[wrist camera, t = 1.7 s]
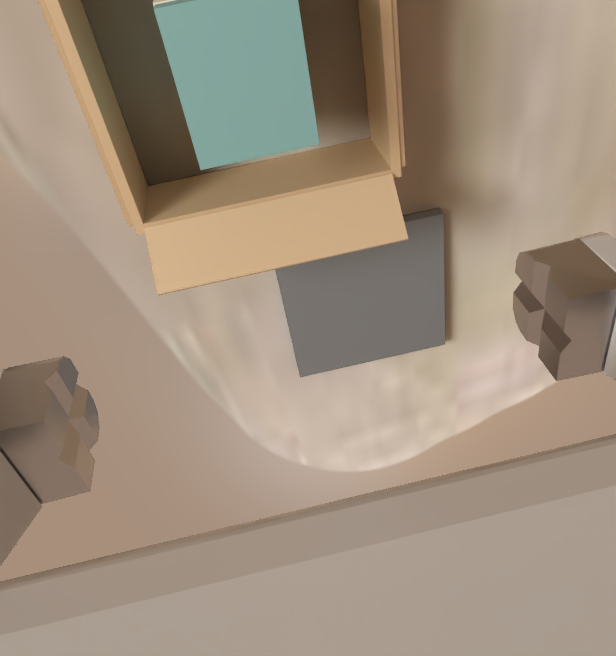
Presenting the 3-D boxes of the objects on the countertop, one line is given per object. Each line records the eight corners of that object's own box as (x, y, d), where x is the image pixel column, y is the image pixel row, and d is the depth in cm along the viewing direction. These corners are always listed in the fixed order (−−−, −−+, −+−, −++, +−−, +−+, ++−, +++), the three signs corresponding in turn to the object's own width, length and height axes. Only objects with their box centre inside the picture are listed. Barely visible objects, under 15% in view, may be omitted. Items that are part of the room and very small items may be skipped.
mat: (439, 207, 37) (443, 213, 37) (441, 337, 44) (445, 344, 44) (270, 245, 37) (271, 251, 37) (298, 370, 44) (300, 377, 44)
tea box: (268, -53, 27) (296, -23, 20) (291, 81, 31) (320, 145, 24) (160, -31, 27) (151, 7, 20) (196, 101, 31) (199, 171, 24)
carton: (352, -278, 23) (402, -321, 18) (387, 180, 36) (423, 238, 30) (-14, -206, 23) (-77, -225, 17) (150, 231, 35) (143, 300, 30)
